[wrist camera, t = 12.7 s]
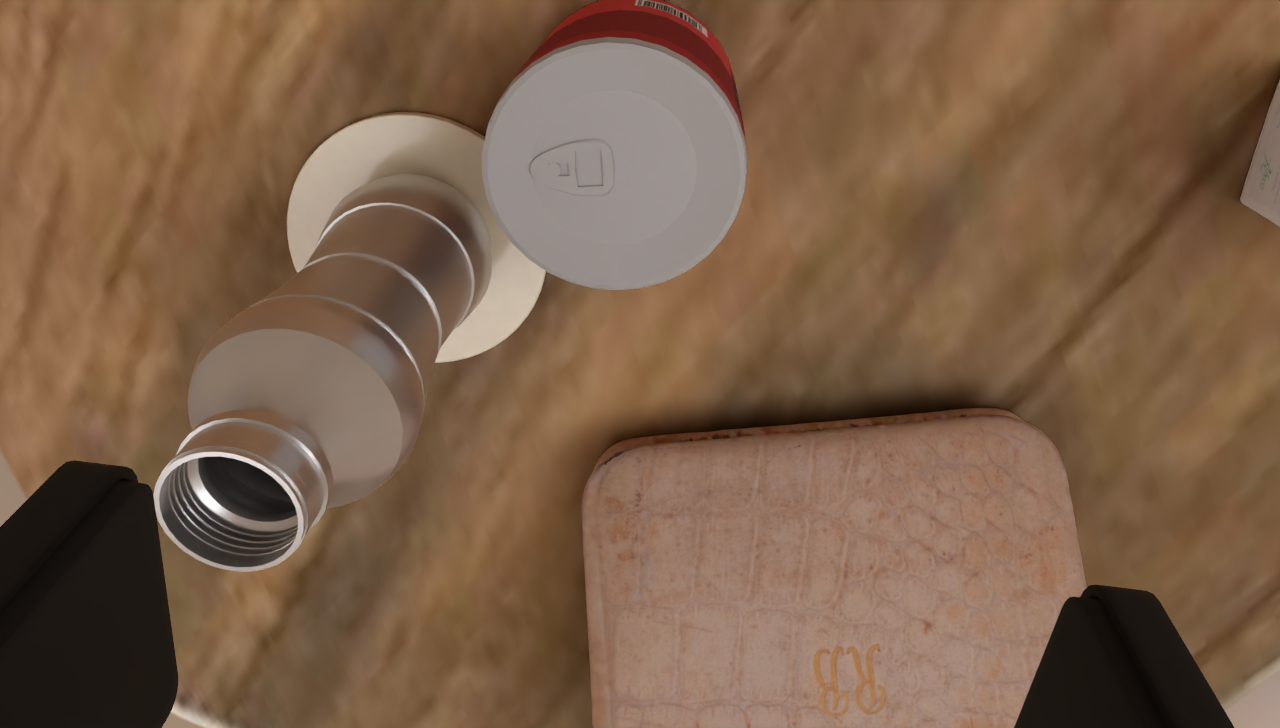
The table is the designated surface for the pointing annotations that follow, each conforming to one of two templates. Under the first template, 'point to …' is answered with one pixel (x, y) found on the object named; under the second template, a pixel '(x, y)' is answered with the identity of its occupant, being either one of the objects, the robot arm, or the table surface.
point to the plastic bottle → (324, 375)
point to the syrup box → (1266, 168)
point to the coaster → (426, 152)
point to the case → (827, 573)
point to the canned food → (618, 147)
